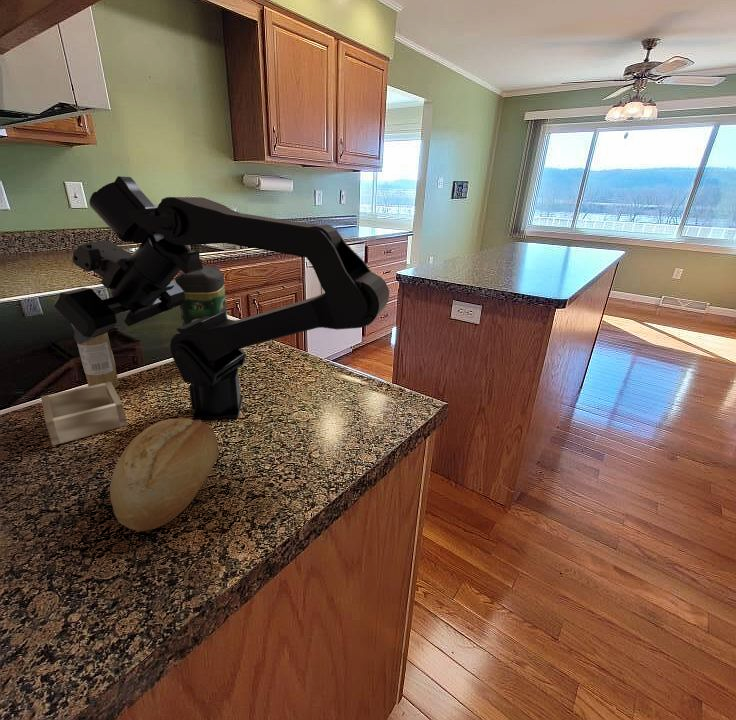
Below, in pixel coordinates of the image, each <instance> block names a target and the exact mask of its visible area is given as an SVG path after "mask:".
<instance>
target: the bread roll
mask: <svg viewBox="0 0 736 720" xmlns="http://www.w3.org/2000/svg"><path fill="white" fill-rule="evenodd" d="M219 450H220V449H219V443H218V439H217V436H216V434H215V431H214V430H213V428H212V427H210V425H208V424H207V423H205V422H203V421H202V419H197V420H196V419H191V418H181V417H180V418H168V419H164V420H160V421H157V422H155V423H154V424H152V425H150V426H148V427H146V428H145V429H143V431H141V432H140V433H139V434H138V435H136V436H134V437H133V439H132V440H131V441H130V442H129V444H128V445H127V446H126V448H125V449H124V451H123V452H122V454H121V455H120V457H119V459H118V461H117V463H116V465H115V467H114V470H113V472H112V476H111V479H110V485H109V497H110V498H109V499H110V502H111V507H112V508H113V513H114V514H113V515H114V516H115V518H116V520H117V522H118V523H119V524H121V525H122V526H124V527H125V528H127V529H129V530H134V531H136V532H137V533H138V532H148V531H152V530H154V529H157V528H160V527H163V526H164V525H167V524H168V523H169V522H172V520H173V521H174V519H175V518H177V517H178V516H179V515H180V514H181V513H183V511H185V509H186V508H187V507H188V506H189V505H190V504H191V502H192V501H193V500H194V499H195V497H196V496H197V494H198V492H199V491H200V489H201V487H202V485H203V484H204V483H205V481H206V480H207V478H208V476H209V474H211V470H212V469H213V467H214V465H215V464H216V462H217V459H218V456H219Z"/></svg>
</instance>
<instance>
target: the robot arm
mask: <svg viewBox="0 0 736 720" xmlns="http://www.w3.org/2000/svg"><path fill="white" fill-rule="evenodd" d="M89 206H90V208H91V209H92V210H93V211H94V212H95V214H97V216H98V217H99V218H100V219H101V220H102V221H103V222H104V223H105V224H106V225H107V226H108V227H109V228H110V230H111V231H113V233H114V234H115V235H116V236H117V238H119V240H121V242H124V243H131V242H132V243H134V244H140V245H139V246H138V247H137V248H136V251H134V253H133V254H131V252H129V251H127V250H125V249H124V248H122V247H120V246H119V245H117V244H115V243H114V242H111V241H109V240H100V241H99V240H98V241H91V242H90V241H89V242H84V243H83V244H80V245H77V247H76V249H75V250H74V251H73V252H72V262H73V264H74V265H75V266H77V267H78V268H80V269H81V270H83V271H85V272H87V273H88V272H93V273H95V274H96V275H99V277H101V278H102V279H101V281H100V284H102V286H104V288H105V289H106V290H107V289H110V290H111V291H110V294H111V296H112V297H109V298H104V299H102V298H101V297H100V296H99V295H98V294H97V293H96V292H95V291H94V290H93V289H92V288H90V287H88V288H87V287H80V288H76V289H72V290H67V291H63V292H60V293H59V294H58V296H57V298H56V299H55V301H54V303H53V307H54V308H55V309H56V311H58V312H59V313H60V314H61V315H62V316H63V317H64V318H65V319H66V320H67V321H68V322H69V323H70V324H72V325H71V326H72V327H73V326H74V328H73V331H74V333H73V334H74V335H73V336H74V341H75V342H76V344H77V343H78V344H83V343H85V342H87V341H90V340H92V339H94V338H96V337H99V336H101V335H103V334H106V333H107V334H108V333H110V332H111V329H113V328H114V327H115V325H116V324H117V323H118V321H117V316H118V315H120V314H121V315H122V314H123V313H127V312H128V313H127V315H126V317H125V319H124V321H123V322H124V323H125V325H126V326H128V327H131V326H133V325H136V324H139V323H140V322H143V321H145V320H148V319H151V318H152V317H153V318H154V317H157V316H159V315H161V314H163V313H165V312H168V311H170V310H172V309H174V308H176V307H178V306H179V307H180V304H181V303H182V302H183V301H184V299H185V295H184V291H183V290H182V289H181V287H180V286H179V285H178V284H177V283H176V281H175V277H176V276H177V275H179V274H180V273H179V272H180V271H182V272H184V273H185V274H187V273H191V272H195V271H199V270H202V269H203V266H204V265H203V262H202V260H201V257H200V255H201V253H200V251H198V250H197V251H194V250H192V249H191V248H190V247H189V246H199V245H214V244H215V245H216V244H227V245H234V246H239V247H240V246H241V247H244V248H245V247H246V248H250V249H257V250H263V251H269V252H274V253H280V254H285V255H290V256H298V257H301V258H302V257H303V258H306V259H307V260H308V261H309V264H311V266H312V268H313V270H314V273H315V274H316V278H317V279H318V281H319V284H320V287H321V289H322V290H323V292H322V293H321V294H319V295H317V296H314V297H310V298H307V299H303V300H300V301H297V302H293V303H290V304H287V305H284V306H280V307H276V308H274V309H270V310H266V311H263V312H261V313H257V314H254V315H250V316H247V317H244V318H240V319H237V320H235V319H233V320H232V319H228V316H227V317H226V314H225V311H223V312H221V313H218V314H216V315H214V316H212V317H209V316H205V317H203V318H201V319H198V320H196V321H194V322H191V323H189V324H187V325H184V326H183V325H182V326H180V327H178V328H176V330H177V332H178V333H176V334H174V335H172V337H171V338H170V344H169V346H170V347H169V348H170V353H171V357H172V359H173V361H174V363H175V365H176V367H177V370H178V372H179V373H180V376H181V378H182V380H183V382H184V383H187V384H190V385H189V386H188V390H189V397H190V405H191V410H192V411H194V413H193V415H192V418H193V419H192V420H195V421H196V420H199V419H200V420H212V419H213V420H214V419H218V420H219V419H236V418H239V415H240V411H241V407H242V404H243V395H241V390H240V389H241V388H240V387H241V386H240V377H239V368H240V367H242V366H244V364H245V362H246V361H245V360H246V357H247V354H246V352H245V351H244V350H243V349H244V348H247V347H250V346H251V347H252V346H254V345H258V344H262V343H266V342H269V341H274V340H278V339H280V338H284V337H288V336H292V335H296V334H300V333H303V332H307V331H311V330H314V329H319V328H323V329H330V330H349V329H361V328H365V327H367V326H369V325H371V324H372V323H373V322H374V321H375V320H376V318H377V317H378V316H379V315H380V314H381V312H382V311H384V309H385V308H386V306H387V304H388V302H389V301H390V300H389V298H390V291H389V290H390V289H389V287H388V285H387V282H386V281H385V280H384V279H383V277H382V276H379V275H378V274H376V273H375V272H373V271H372V270H371V268H369V266H368V265H367V264H366V262H365V261H364V260H363V259H362V258H361V257H360V256H359V255H358V253H356V252H355V251H354V250H353V249H352V247H350V246H349V245H348V244H347V243H346V241H345V240H344V239H343V237H342V235H341V234H340V233H339V231H338V230H337V229H336V228H335V227H334V226H331V225H329V224H319V225H318V224H310V223H305V222H299V221H292V220H286V219H280V218H279V219H278V218H274V217H269V216H268V217H267V216H262V215H261V216H260V215H254V214H248V213H243V212H238V211H235V210H233V209H231V208H229V207H228V206H226V205H225V204H221V203H219V202H216V201H213V200H211V199H208V198H205V197H201V196H200V197H198V196H197V197H193V196H191V197H190V196H189V197H188V196H187V197H186V196H185V197H184V196H165V197H164V198H162V199H161V201H160V202H159V204H158V205H157V206H156V205H154V203H153V202H152V201H151V200H150V199H149V198H148V196H147V195H146V194H145V193H144V192H143V191H142V190H141V188H140V187H139V186H138V184H137V183H136V181H135V180H134V179H133V178H132V177H131V176H120V175H119V176H117V177H116V178H115V181H113V182H110V183H107V184H105V185H104V186H101V187H100V188H99V189H98V190H97V191H94V192H93V193H92V194H91V196H90V197H89ZM227 319H228V320H227Z"/></svg>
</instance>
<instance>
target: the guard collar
mask: <svg viewBox="0 0 736 720" xmlns="http://www.w3.org/2000/svg"><path fill="white" fill-rule="evenodd" d="M40 399H41V405H42V411H43V417H44V422H45V425H46V429H47V432H48V435H49V439H50V441H51V444H52V445H51V446H57V445H59V444H65V443H67V442H71V441H75V440H79V439H82V438H86V437H90V436H93V435H96V434H100V433H103V432H108V431H111V430H115V429H117V428H123V427H125V426H126V427H127V425H128V422H127V419H126V413H125V409H124V405H123V402H122V401H121V399H120V396H119V395H118V393H117V391H116V388H115V389H114V387H113V385H112V383H111V382H107V383H102V384H97V385H93V386H88V385H87V386H84V387H80V388H79V387H78V388H74V389H71V390H65V391H60V392H57V393H52V394H47V395H42V396H40Z"/></svg>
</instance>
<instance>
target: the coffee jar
mask: <svg viewBox="0 0 736 720" xmlns="http://www.w3.org/2000/svg"><path fill="white" fill-rule="evenodd" d="M202 266H203V269H202V270H199V271H195V272H191V273H187V274H185V273H184V272H183V271H182V272H180V273H178V274H177V275H176V276H175V278H174V281H175V282H176V283H177V284H178V285H179V286H180V287H181V289H182V290H183V291H184V295H185V299H184V301H183V302H182V303H181V304H180V305H179V309H180V317H181V325H182V326H184V325H187V324H189V323H191V322H194V321H196V320H198V319H201V318H203V317H205V316H209V317H212V316H214V315H216V314H218V313H221V312H223V311H225V314H226V317H227V320H229V319H228V312H227V311H228V310H227V301H226V300H227V299H226V288H225V279H224V274H223V271H222V270H220V269H219V268H217V267H216V266H215V265H202Z"/></svg>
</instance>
